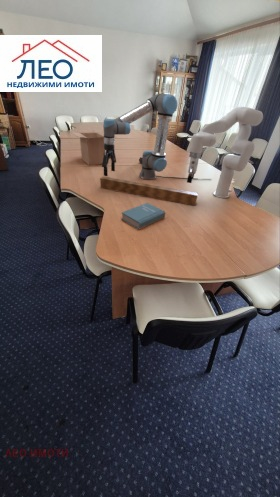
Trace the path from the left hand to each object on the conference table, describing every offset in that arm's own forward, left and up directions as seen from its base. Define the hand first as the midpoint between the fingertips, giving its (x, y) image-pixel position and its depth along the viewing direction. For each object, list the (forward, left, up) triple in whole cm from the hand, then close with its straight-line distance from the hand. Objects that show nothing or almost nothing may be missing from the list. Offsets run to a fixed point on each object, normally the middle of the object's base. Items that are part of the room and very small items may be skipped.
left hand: (109, 173), depth 171 cm
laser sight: (-42, -71, -12) cm, 83 cm away
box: (+18, -76, -12) cm, 79 cm away
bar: (-29, +12, -12) cm, 33 cm away
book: (-22, +51, -12) cm, 57 cm away
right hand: (-57, +25, +5) cm, 62 cm away
